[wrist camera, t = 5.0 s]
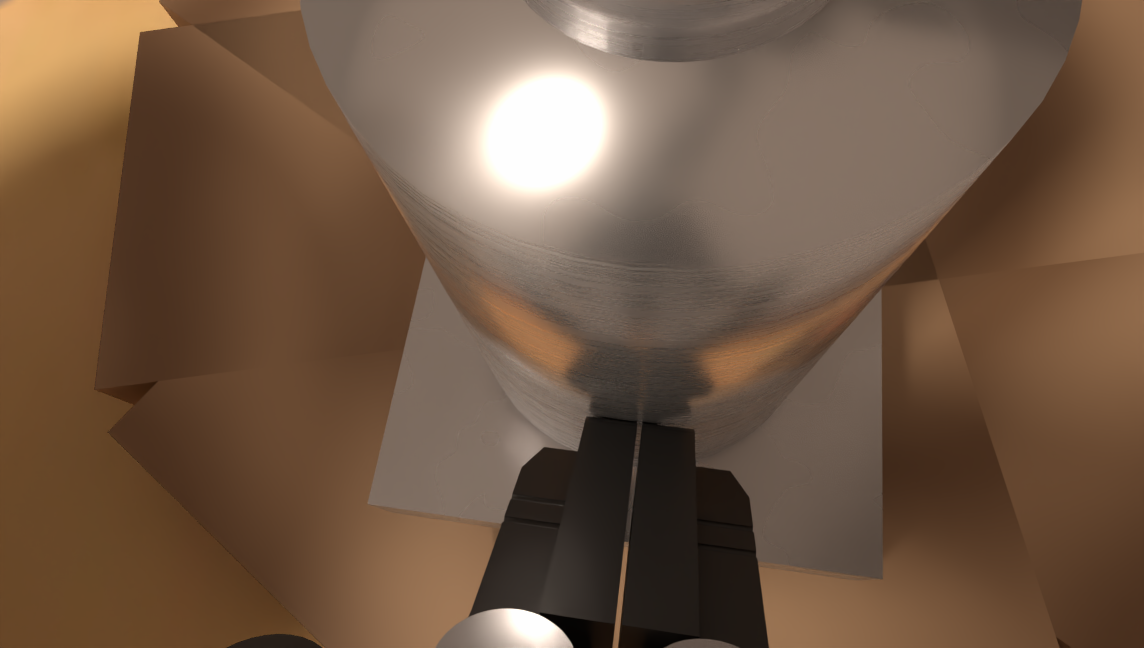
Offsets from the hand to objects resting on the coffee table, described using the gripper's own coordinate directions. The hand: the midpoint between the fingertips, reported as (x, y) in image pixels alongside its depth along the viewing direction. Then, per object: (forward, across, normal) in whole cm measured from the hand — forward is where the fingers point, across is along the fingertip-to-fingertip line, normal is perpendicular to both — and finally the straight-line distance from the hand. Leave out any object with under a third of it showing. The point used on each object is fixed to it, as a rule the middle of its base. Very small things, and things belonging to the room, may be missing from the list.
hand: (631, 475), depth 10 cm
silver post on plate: (+6, 0, 0) cm, 6 cm away
